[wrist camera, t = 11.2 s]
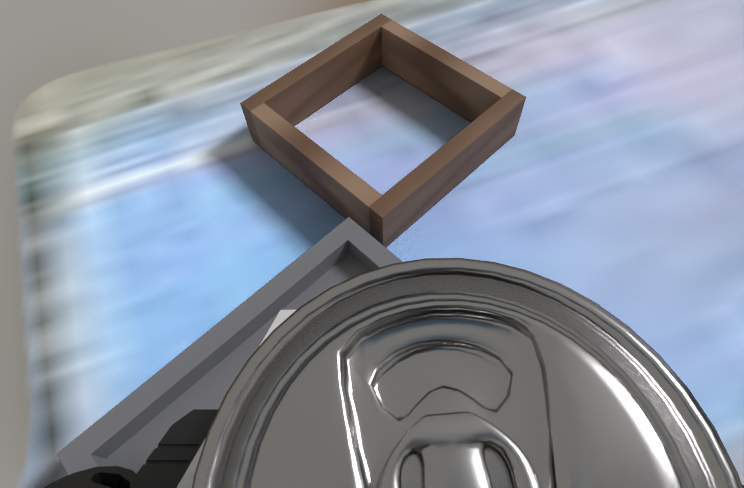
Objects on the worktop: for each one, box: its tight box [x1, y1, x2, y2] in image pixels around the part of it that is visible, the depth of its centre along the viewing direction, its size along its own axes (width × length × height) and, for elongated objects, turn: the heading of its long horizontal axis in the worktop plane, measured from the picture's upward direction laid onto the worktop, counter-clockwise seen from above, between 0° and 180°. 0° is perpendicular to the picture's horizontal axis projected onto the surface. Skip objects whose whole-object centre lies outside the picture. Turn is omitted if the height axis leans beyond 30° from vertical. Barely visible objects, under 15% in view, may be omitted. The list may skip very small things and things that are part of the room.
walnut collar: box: [240, 14, 526, 248], centre depth 24 cm, size 10×10×2 cm
